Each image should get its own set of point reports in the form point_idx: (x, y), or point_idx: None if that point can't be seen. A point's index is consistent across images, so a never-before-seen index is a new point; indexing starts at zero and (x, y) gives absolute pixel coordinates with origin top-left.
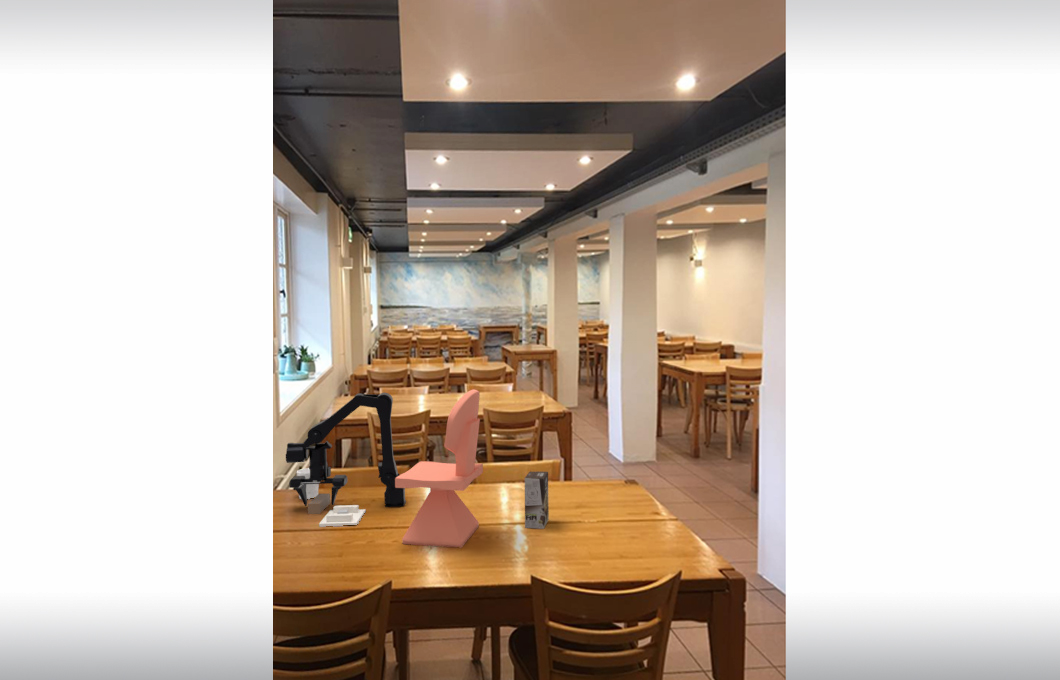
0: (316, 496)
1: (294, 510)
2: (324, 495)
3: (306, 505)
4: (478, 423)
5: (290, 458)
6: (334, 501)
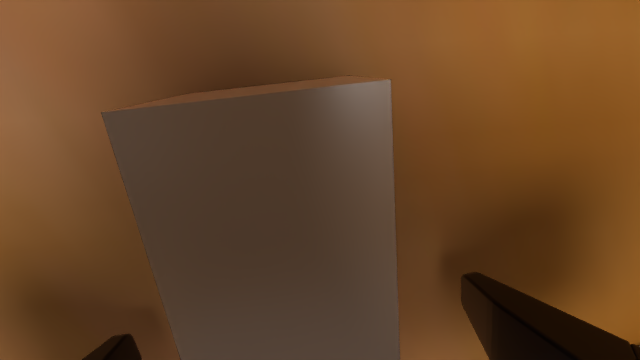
0: (181, 316)
1: (38, 355)
2: (319, 241)
3: (137, 357)
4: None
5: None
6: (512, 296)
